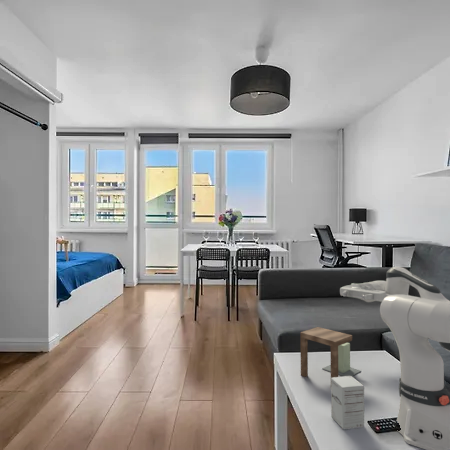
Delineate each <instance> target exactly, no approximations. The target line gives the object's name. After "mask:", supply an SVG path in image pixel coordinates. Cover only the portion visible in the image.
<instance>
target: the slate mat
mask: <svg viewBox="0 0 450 450" xmlns="http://www.w3.org/2000/svg"><path fill="white" fill-rule="evenodd" d="M321 370H323V371H326V372H329V373H331V364H329V365H327V366H324V367H322V369H321ZM361 372H362V370H361V369H358V368H354V367H351V366H350V370H349V371H347V372H345V373H342V372H339V371H338V376H339V377H343V376H352V377H353V376H355V375H358V374H360V373H361Z"/></svg>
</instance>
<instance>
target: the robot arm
mask: <svg viewBox="0 0 450 450" xmlns="http://www.w3.org/2000/svg"><path fill="white" fill-rule="evenodd" d="M385 275H386V279H385V280H373V281H369V282H368V281H367V282H363V283H358V282H357V283H356V282H353V283H351V284H349V285H344V286H342V287H340V288H339V294H340V296H341V297H342V296H343V297H348V298H353V299H354V298H355V299H359V300H361V301H364V302H366V303H372V302H380V305H379V306H380V307H379V314H380V317H381V320H382V321H383V322H384V323H385V324H386V325H387V327H388V328H389V329H390V331H391V333H392V335H393V337H394V340H395V342H396V345H397V349H398V352H399V362H400V378H399V381H398V393H399V397H400V399H399V400H400V401H399V408H398V414H397V418H396V421H398V423H399V425H400V428H401V430H400V431H398V433H400V434H401V436H402V437H403V440H404V441H405V443H406V444H409V445H411V446H415V447H418V448H420V449H423V450H450V391H449V389H448V388H447V387H446V386H445V375H444V373H445V372H444V366H445V365H444V360H443V357H442V356H441V354H440V353H439V352H438V351H437V350H436V349H435V348H434V347H433V346H432V344H431V342H430V341H429V340H432V341H434V342H438V344H439V345H440V347H442V348H443V349H444V350H446V351H447V352H448V353H450V299H448V298H446V296H444V295H443V293H442V292H441V289H439V287H437V286H436V285H434V284H432V283H430V282H429V281H427V280H425V279H423V278H421V277H420V276H418V275H416V274H415V273H412V272H411V271H410V270H408V269H407V268H405V267H402V266H392V267H390V268H389V269H388V270H387V271H386V274H385ZM410 286H411V287H413V288H415V289H416V290H417V292H418V293H419V296H416V295H415V296H414V295H410V294H409V289H410Z"/></svg>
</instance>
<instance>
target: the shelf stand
mask: <svg viewBox="0 0 450 450" xmlns="http://www.w3.org/2000/svg"><path fill="white" fill-rule="evenodd" d="M299 337H300V345H299V346H300V376H301V377H303V378H306V377H308V374H309V372H308V371H309V370H308V369H309V368H308V367H309V361H308V360H309V358H308V357H309V352H308V350H309V349H308V347H309V346H308V343H309V342H308V341H309V340H310V341H313V342H316V343H319V344H322V345H326V346H329V347H330V365H331V372H330V379H331V378H333V377H339V375H338V346H339V345H342V344H345V343H350V342H353V335H352V334H349V333H345V332H340V331H336V330H332V329H328V328H324V327H320V326H317V327H313V328H310V329H307V330H303V331H301V332H300V336H299Z"/></svg>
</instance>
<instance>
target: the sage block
mask: <svg viewBox="0 0 450 450" xmlns="http://www.w3.org/2000/svg"><path fill="white" fill-rule="evenodd" d="M350 367H351V343H350V342H347V343H345V344H342V345H339V346H338V371H339V372H342V373H345V372H347V371H349V370H350Z"/></svg>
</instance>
